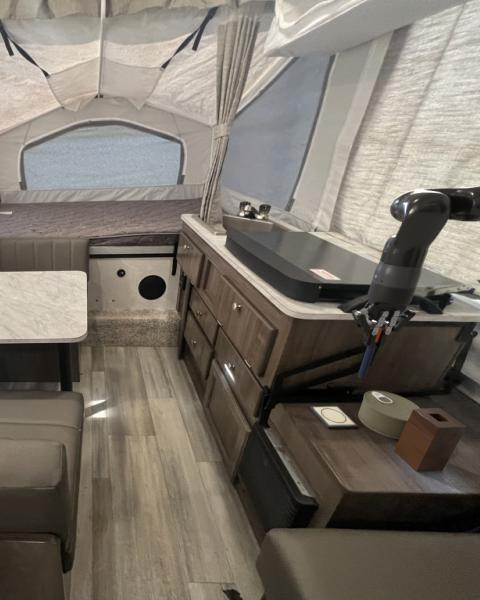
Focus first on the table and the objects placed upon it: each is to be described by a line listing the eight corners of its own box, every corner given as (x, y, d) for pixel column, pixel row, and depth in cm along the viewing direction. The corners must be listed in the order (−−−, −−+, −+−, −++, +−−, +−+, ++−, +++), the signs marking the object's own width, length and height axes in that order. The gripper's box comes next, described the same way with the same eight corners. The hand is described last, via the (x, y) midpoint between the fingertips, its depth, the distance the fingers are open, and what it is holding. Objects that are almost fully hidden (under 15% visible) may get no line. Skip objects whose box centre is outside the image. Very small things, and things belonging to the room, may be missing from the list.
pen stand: (417, 450, 80) (439, 407, 75) (442, 471, 75) (467, 426, 69) (393, 450, 80) (413, 408, 75) (416, 471, 75) (438, 427, 70)
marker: (363, 377, 83) (380, 327, 77) (365, 380, 82) (383, 330, 76) (356, 375, 84) (372, 326, 78) (357, 379, 82) (374, 329, 77)
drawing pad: (336, 407, 95) (337, 405, 95) (357, 428, 88) (358, 425, 87) (309, 408, 96) (310, 406, 95) (328, 428, 88) (328, 426, 88)
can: (385, 443, 83) (394, 423, 80) (346, 411, 94) (352, 392, 91) (427, 437, 83) (437, 418, 81) (383, 406, 95) (390, 388, 92)
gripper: (376, 288, 69) (355, 355, 76) (442, 285, 68) (414, 352, 75) (350, 277, 76) (333, 339, 83) (410, 274, 75) (387, 337, 82)
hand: (372, 345), depth 79 cm, fingers closed on marker, 1 cm apart
